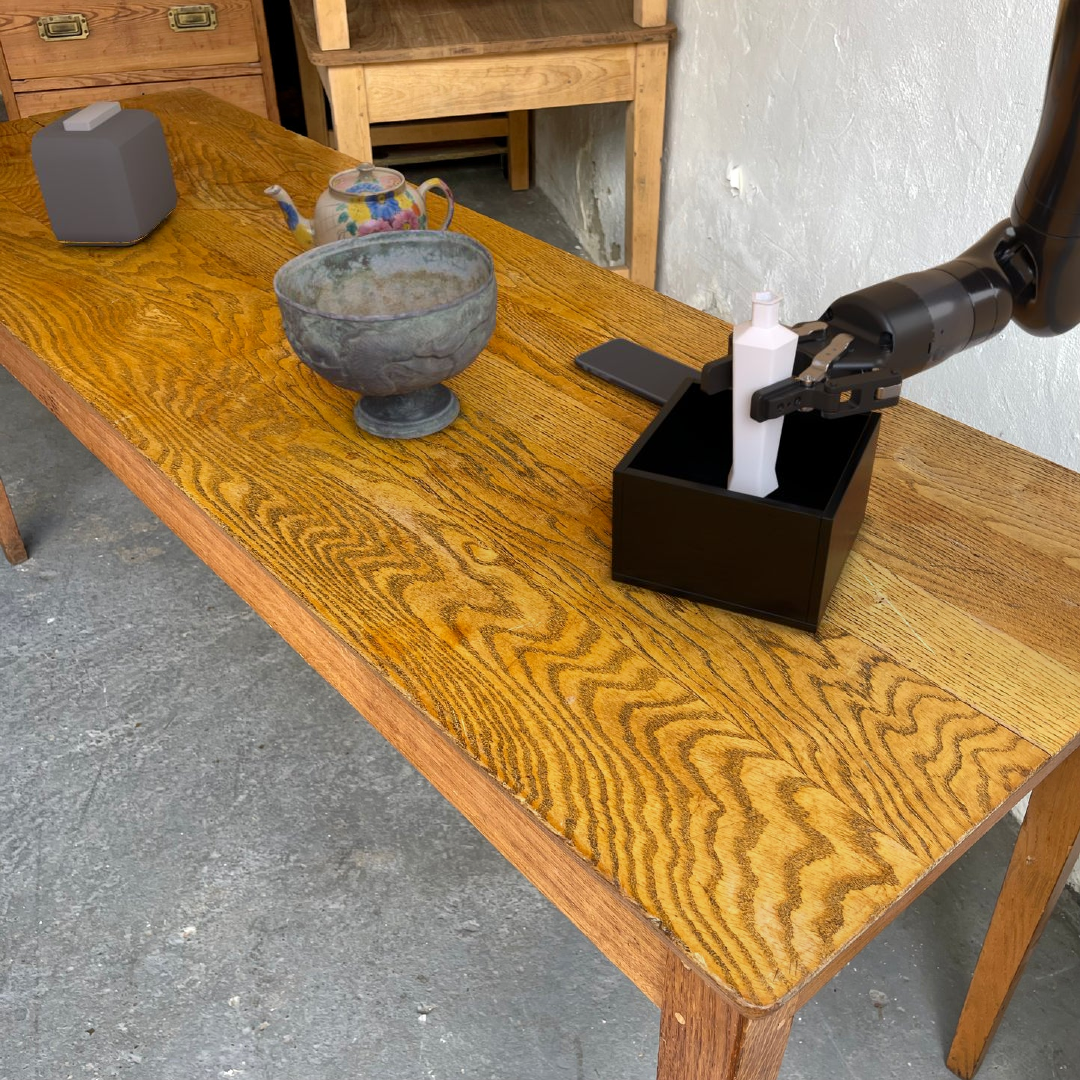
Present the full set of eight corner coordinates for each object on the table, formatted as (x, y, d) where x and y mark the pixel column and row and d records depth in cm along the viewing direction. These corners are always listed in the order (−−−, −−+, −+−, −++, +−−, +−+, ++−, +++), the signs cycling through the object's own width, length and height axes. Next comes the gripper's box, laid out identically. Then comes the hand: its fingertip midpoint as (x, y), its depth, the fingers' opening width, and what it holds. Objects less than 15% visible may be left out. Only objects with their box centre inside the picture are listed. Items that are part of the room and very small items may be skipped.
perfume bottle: (743, 462, 85) (757, 277, 77) (791, 482, 83) (810, 293, 74) (706, 486, 83) (716, 298, 74) (754, 507, 80) (770, 315, 72)
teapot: (409, 239, 144) (399, 134, 136) (470, 268, 135) (463, 158, 127) (271, 279, 134) (252, 169, 126) (327, 313, 125) (310, 197, 117)
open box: (864, 519, 89) (882, 412, 83) (815, 634, 78) (833, 519, 72) (681, 478, 95) (686, 376, 89) (610, 580, 84) (612, 470, 78)
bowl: (291, 383, 111) (266, 239, 103) (479, 357, 115) (469, 215, 106) (307, 484, 96) (279, 324, 87) (524, 450, 99) (517, 293, 91)
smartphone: (682, 409, 103) (569, 357, 112) (681, 418, 103) (569, 365, 112) (732, 383, 107) (619, 334, 116) (731, 391, 108) (619, 342, 116)
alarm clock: (111, 209, 157) (81, 94, 148) (188, 210, 156) (163, 94, 146) (59, 252, 143) (23, 128, 134) (142, 253, 142) (112, 128, 133)
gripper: (832, 255, 87) (664, 311, 79) (985, 313, 77) (809, 383, 70) (822, 342, 91) (661, 403, 84) (964, 408, 81) (797, 484, 74)
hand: (729, 394), depth 77 cm, fingers closed on perfume bottle, 4 cm apart
